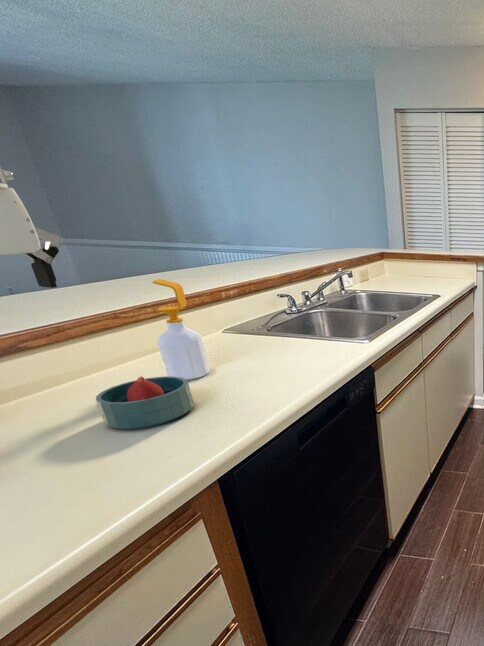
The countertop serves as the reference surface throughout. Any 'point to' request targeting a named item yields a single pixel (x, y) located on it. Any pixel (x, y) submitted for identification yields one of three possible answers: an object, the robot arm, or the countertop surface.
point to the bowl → (145, 404)
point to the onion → (143, 390)
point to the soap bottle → (181, 342)
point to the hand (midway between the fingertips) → (12, 291)
